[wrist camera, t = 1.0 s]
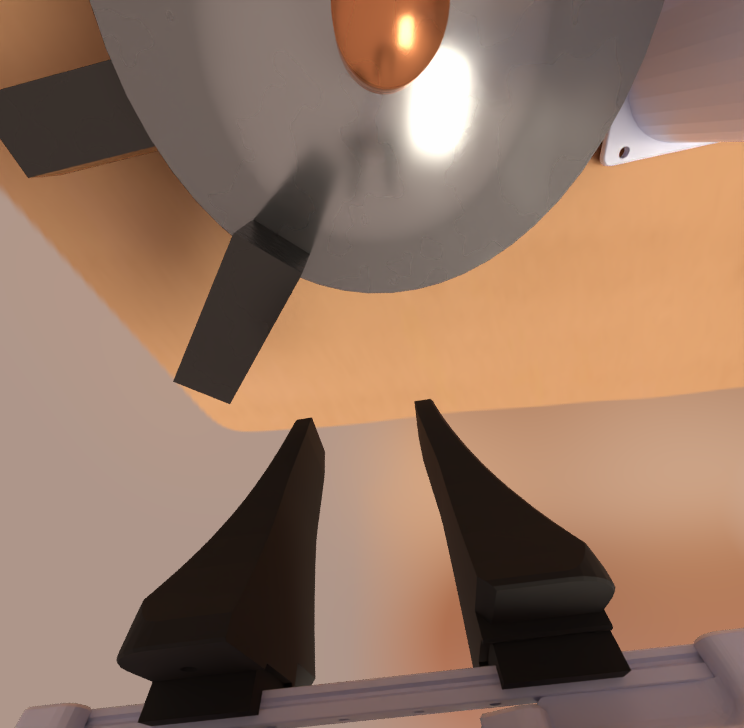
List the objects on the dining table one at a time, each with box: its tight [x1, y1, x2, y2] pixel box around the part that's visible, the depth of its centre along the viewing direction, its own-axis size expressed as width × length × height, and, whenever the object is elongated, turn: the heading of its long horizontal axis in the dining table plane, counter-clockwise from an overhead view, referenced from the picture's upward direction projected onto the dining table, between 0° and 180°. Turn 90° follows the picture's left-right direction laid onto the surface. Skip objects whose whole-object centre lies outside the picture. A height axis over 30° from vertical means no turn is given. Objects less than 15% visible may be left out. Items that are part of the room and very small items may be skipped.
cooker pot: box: [0, 60, 158, 178], centre depth 12 cm, size 22×16×5 cm
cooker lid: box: [90, 0, 664, 404], centre depth 10 cm, size 22×16×3 cm
